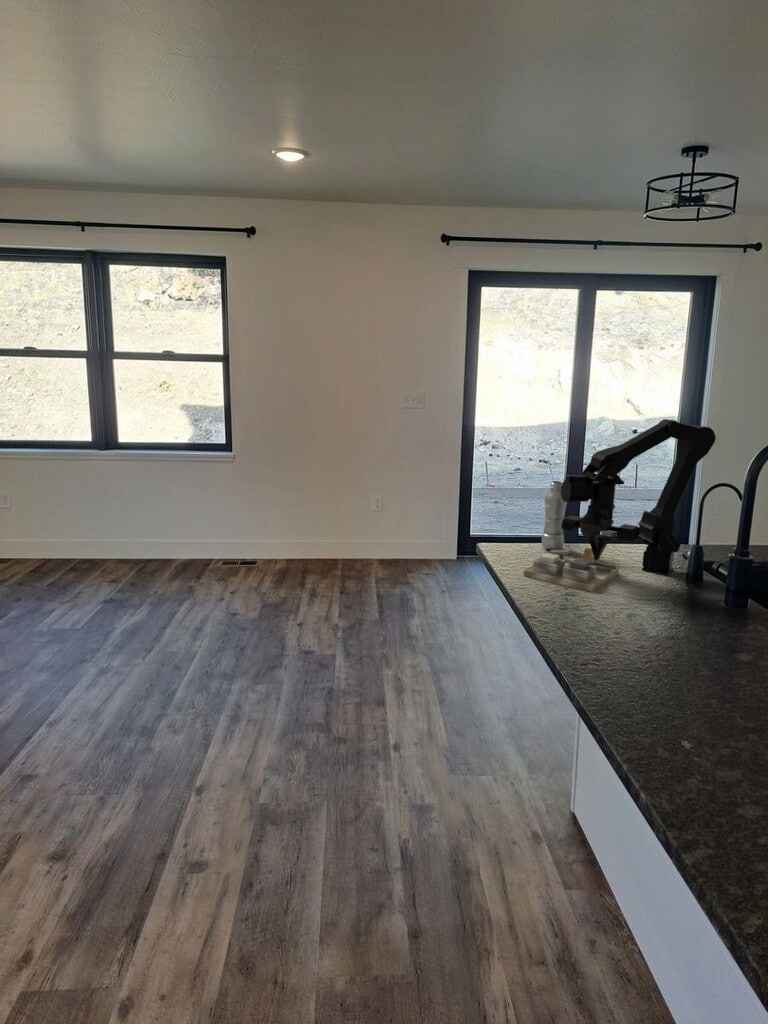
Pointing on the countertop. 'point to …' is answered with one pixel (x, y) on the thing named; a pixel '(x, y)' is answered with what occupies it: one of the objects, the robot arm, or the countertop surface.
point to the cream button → (549, 558)
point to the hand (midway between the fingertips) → (596, 559)
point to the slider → (588, 556)
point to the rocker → (560, 552)
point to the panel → (572, 573)
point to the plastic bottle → (554, 518)
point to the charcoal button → (580, 564)
